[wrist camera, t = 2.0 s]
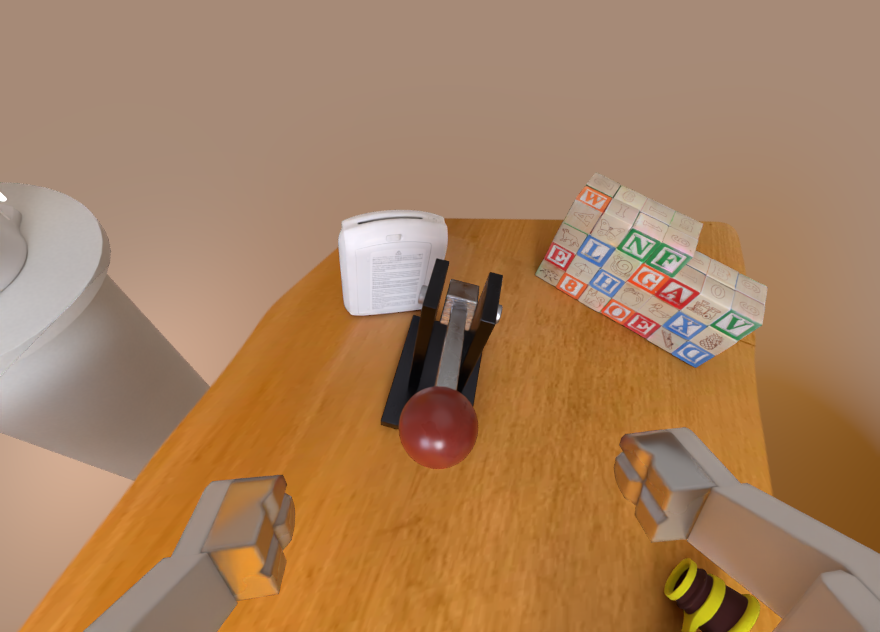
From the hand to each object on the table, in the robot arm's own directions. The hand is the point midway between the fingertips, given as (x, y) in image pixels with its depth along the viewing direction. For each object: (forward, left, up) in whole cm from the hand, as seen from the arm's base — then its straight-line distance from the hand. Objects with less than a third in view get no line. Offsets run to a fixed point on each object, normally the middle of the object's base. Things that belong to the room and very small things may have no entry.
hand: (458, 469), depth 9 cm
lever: (0, +8, -12) cm, 14 cm away
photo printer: (-7, +22, -26) cm, 35 cm away
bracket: (0, +14, -25) cm, 29 cm away
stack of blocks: (+20, +30, -26) cm, 44 cm away
